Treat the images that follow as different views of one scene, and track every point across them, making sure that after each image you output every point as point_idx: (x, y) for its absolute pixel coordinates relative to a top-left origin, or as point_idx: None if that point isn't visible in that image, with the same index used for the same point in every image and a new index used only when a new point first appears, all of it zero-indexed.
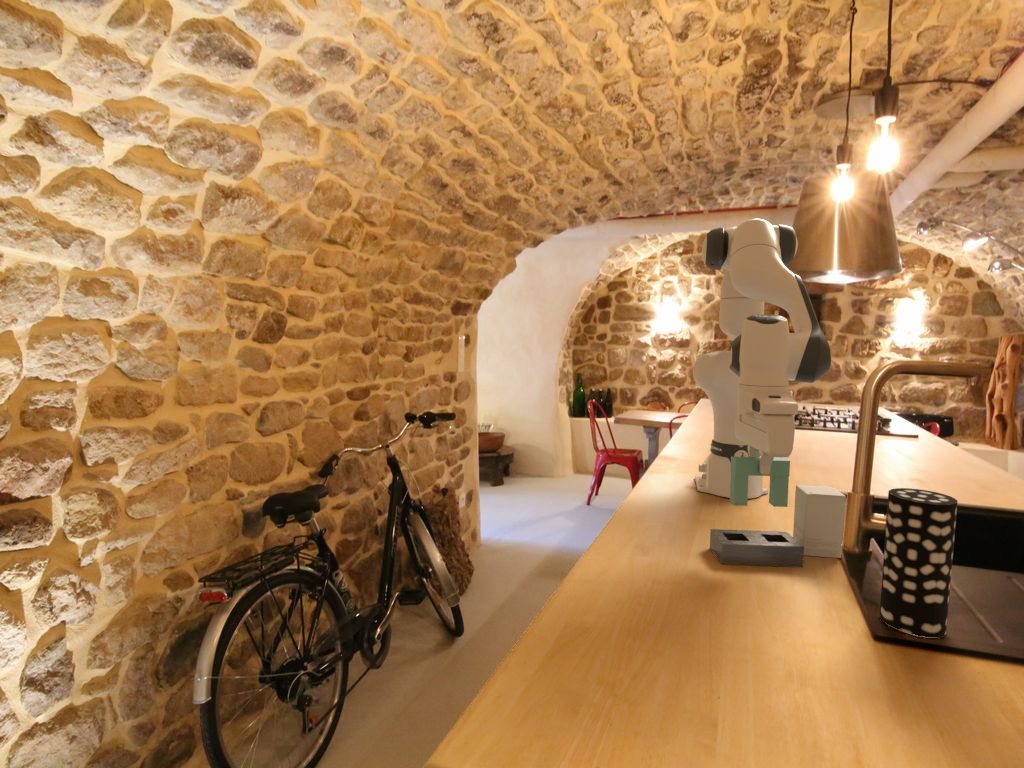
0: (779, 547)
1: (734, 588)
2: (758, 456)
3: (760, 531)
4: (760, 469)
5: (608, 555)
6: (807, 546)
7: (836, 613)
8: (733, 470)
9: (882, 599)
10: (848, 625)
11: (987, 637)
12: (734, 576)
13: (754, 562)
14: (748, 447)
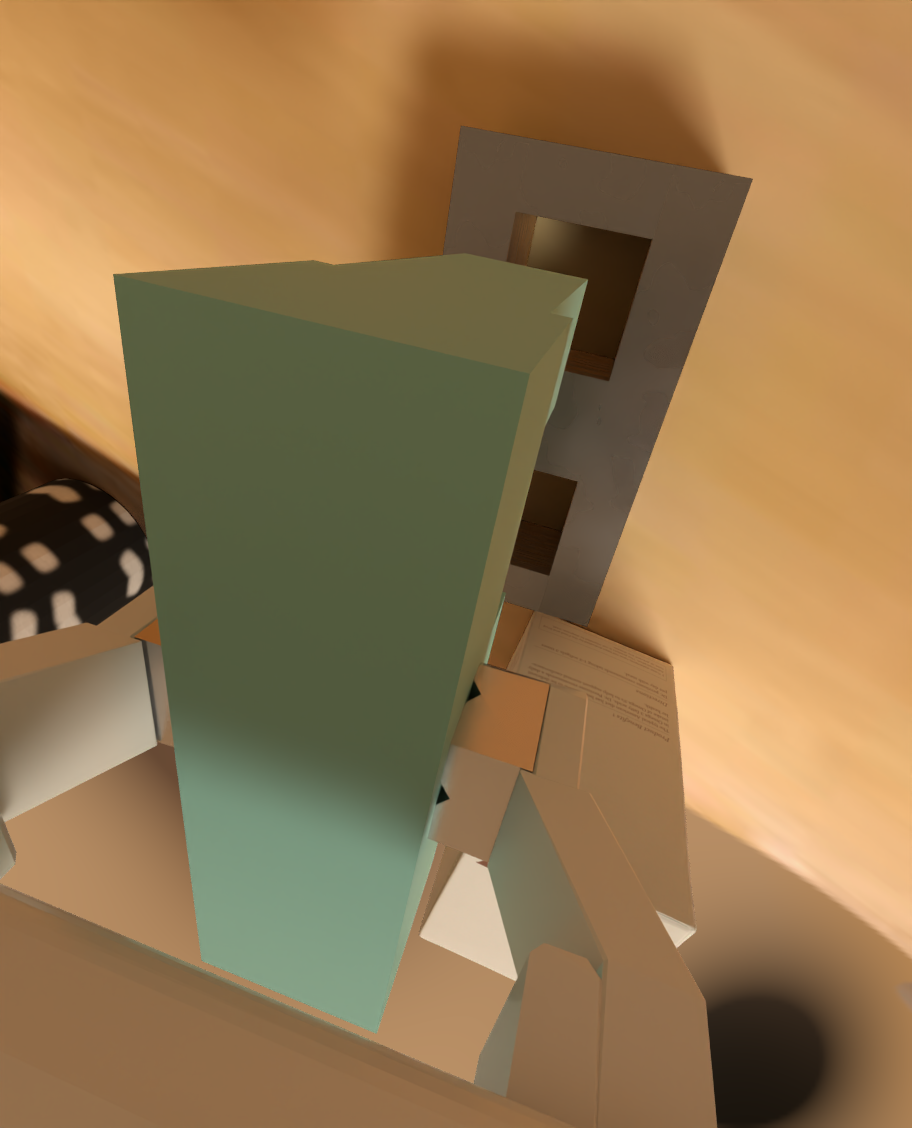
0: None
1: (227, 70)
2: (506, 897)
3: (618, 506)
4: (151, 589)
5: None
6: (522, 641)
7: (105, 390)
8: (391, 284)
9: (43, 510)
10: (44, 372)
11: None
12: (350, 146)
13: None
14: (637, 1030)
